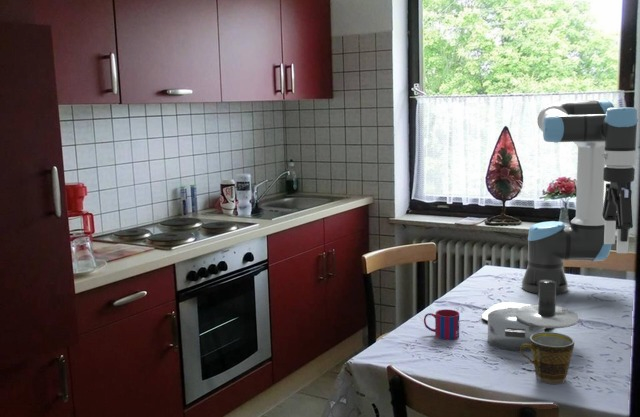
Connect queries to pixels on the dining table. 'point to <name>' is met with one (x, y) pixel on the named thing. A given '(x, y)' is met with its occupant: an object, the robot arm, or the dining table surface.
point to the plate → (502, 306)
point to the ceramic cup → (550, 356)
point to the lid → (547, 310)
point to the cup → (445, 324)
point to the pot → (509, 330)
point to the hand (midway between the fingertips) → (615, 248)
